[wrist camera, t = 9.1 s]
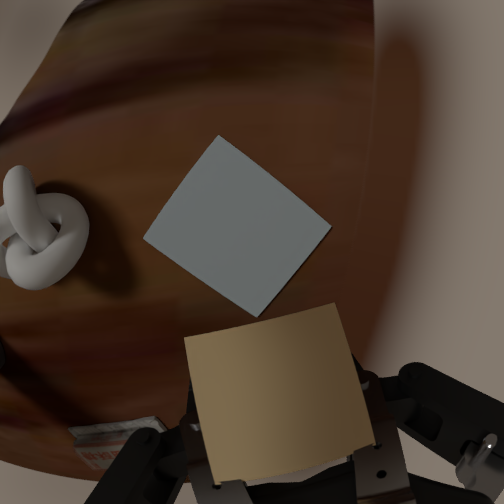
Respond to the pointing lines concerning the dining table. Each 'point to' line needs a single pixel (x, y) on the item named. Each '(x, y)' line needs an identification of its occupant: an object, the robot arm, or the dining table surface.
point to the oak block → (277, 395)
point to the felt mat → (236, 228)
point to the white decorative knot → (39, 232)
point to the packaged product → (107, 440)
